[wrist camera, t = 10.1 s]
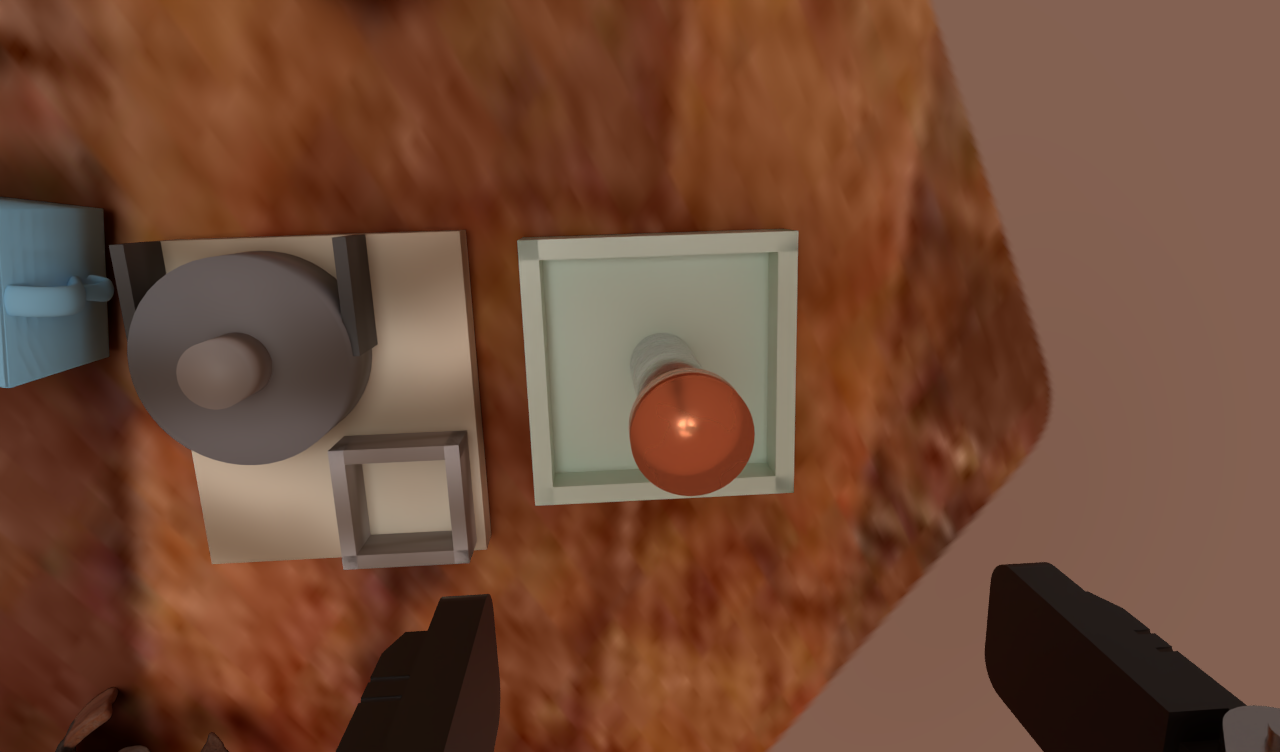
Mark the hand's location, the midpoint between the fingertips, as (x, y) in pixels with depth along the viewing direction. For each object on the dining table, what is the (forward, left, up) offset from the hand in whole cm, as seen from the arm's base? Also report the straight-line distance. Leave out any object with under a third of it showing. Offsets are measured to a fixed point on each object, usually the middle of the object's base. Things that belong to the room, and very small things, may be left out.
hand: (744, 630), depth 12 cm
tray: (0, 0, -22) cm, 22 cm away
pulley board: (+1, -14, -22) cm, 26 cm away
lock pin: (0, +1, -21) cm, 21 cm away
